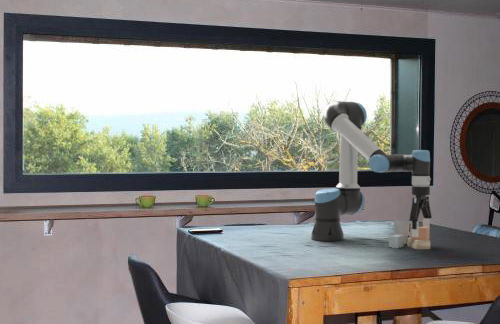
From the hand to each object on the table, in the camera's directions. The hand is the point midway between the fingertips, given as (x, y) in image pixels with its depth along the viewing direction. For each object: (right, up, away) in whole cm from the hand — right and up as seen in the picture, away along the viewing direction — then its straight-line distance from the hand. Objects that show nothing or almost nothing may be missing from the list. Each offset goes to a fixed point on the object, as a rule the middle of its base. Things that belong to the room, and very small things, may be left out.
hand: (420, 235), depth 291 cm
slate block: (-10, -5, +1) cm, 12 cm away
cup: (-5, -5, +12) cm, 14 cm away
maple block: (-1, -6, -1) cm, 6 cm away
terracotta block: (0, -2, 0) cm, 2 cm away
